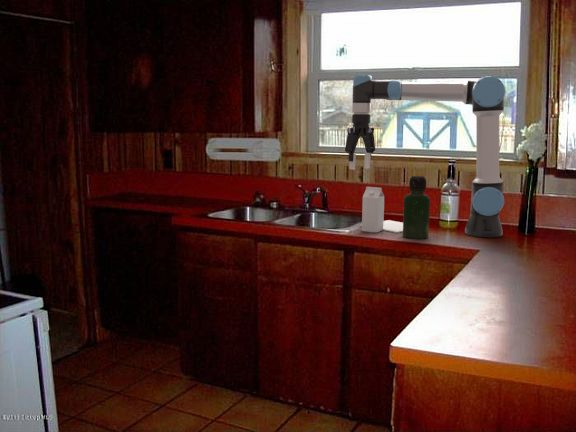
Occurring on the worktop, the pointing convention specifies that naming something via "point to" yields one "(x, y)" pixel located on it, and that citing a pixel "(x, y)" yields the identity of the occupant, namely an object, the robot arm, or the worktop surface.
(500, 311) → the worktop surface
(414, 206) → the green bottle
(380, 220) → the milk carton
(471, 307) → the worktop surface
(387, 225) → the mat
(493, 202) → the robot arm
